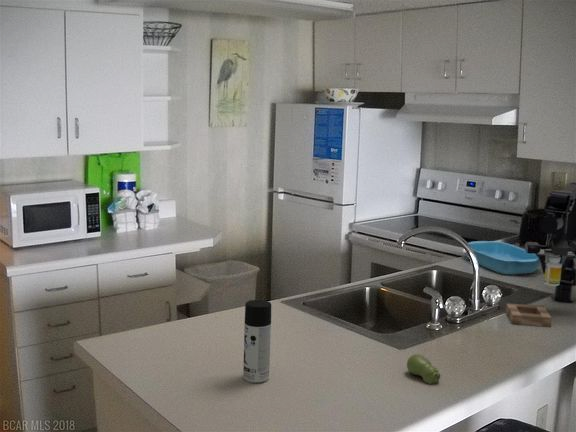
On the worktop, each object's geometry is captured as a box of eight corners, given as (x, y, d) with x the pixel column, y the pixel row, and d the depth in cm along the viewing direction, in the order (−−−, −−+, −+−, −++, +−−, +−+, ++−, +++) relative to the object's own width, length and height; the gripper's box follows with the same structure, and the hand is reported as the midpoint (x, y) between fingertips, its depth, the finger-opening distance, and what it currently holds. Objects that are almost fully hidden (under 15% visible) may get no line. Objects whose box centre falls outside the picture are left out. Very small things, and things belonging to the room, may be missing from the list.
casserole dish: (453, 256, 306) (454, 240, 305) (496, 253, 314) (497, 238, 312) (505, 280, 272) (506, 262, 271) (551, 276, 280) (553, 259, 278)
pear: (419, 349, 185) (447, 368, 177) (416, 366, 186) (442, 386, 179) (404, 353, 181) (431, 372, 174) (400, 370, 183) (427, 390, 176)
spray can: (242, 372, 180) (244, 299, 176) (269, 372, 180) (270, 299, 176) (243, 383, 173) (244, 307, 169) (270, 383, 174) (272, 307, 170)
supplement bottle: (539, 283, 235) (542, 255, 233) (548, 280, 239) (551, 253, 237) (554, 287, 231) (557, 259, 229) (562, 284, 235) (565, 257, 233)
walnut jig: (505, 311, 234) (506, 303, 233) (542, 314, 232) (543, 305, 232) (512, 324, 222) (512, 315, 222) (551, 326, 221) (552, 318, 220)
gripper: (533, 232, 224) (528, 278, 228) (593, 235, 222) (587, 282, 225) (526, 225, 235) (521, 269, 238) (583, 228, 233) (578, 273, 236)
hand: (552, 273), depth 234 cm, fingers closed on supplement bottle, 5 cm apart
